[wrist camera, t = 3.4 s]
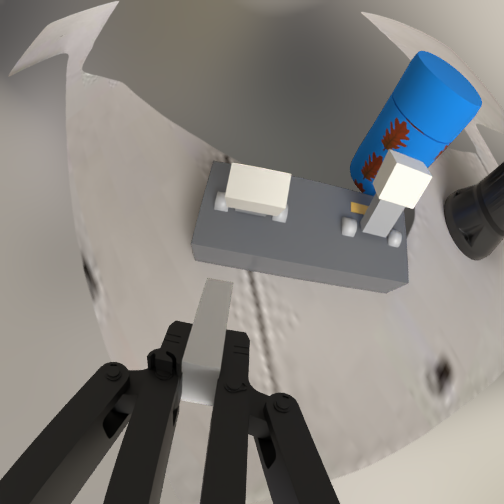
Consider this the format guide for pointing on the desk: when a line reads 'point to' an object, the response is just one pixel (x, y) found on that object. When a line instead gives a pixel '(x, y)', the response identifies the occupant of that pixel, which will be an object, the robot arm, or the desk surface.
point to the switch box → (302, 237)
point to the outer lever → (257, 190)
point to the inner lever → (394, 192)
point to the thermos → (417, 118)
